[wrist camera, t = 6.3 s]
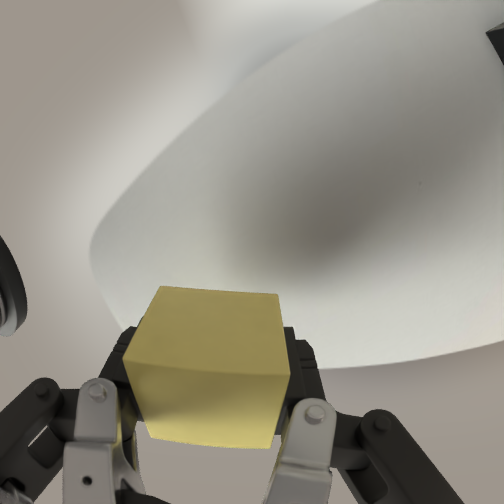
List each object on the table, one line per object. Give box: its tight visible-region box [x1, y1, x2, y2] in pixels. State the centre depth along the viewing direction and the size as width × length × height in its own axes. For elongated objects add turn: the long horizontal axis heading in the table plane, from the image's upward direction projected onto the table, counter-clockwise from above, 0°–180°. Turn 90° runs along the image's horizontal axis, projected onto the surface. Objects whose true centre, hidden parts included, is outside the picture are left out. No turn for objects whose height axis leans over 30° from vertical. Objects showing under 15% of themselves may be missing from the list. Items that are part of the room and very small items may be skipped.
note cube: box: [123, 286, 290, 449], centre depth 9 cm, size 4×4×4 cm
